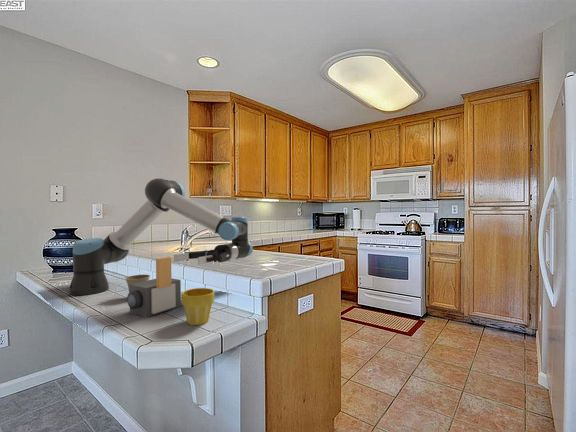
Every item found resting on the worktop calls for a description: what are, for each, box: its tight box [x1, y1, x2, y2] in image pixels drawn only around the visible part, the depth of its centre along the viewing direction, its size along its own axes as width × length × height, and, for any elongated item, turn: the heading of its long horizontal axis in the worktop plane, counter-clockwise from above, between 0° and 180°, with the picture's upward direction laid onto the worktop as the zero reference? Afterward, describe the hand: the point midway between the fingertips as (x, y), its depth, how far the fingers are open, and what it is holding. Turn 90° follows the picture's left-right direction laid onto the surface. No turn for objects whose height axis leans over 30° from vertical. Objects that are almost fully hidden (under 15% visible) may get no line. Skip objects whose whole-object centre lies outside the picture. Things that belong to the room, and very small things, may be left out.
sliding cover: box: [151, 256, 176, 314], centre depth 107 cm, size 9×2×18 cm, turn 148°
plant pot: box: [181, 287, 215, 326], centre depth 98 cm, size 10×10×10 cm
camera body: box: [126, 277, 182, 318], centre depth 110 cm, size 16×10×11 cm, turn 148°
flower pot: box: [124, 274, 151, 290], centre depth 127 cm, size 9×9×9 cm
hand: (186, 259), depth 115 cm, fingers open, 13 cm apart
